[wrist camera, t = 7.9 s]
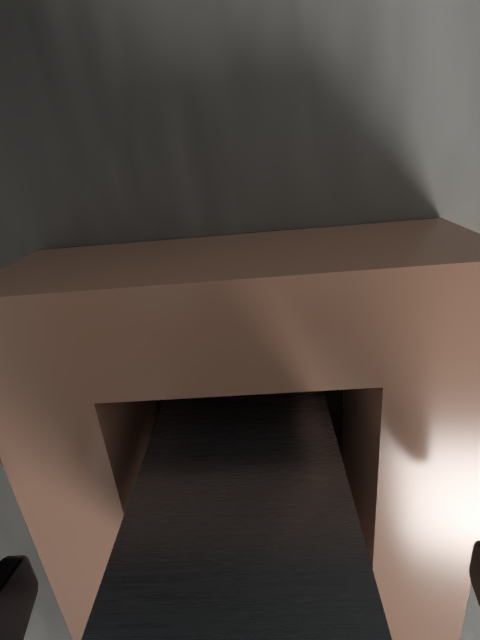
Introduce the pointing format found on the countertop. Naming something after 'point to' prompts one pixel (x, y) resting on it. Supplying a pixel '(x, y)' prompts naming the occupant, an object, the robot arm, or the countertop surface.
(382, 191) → the countertop surface
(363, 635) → the tall grey square pillar
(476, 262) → the orange square socket block
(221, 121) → the countertop surface
